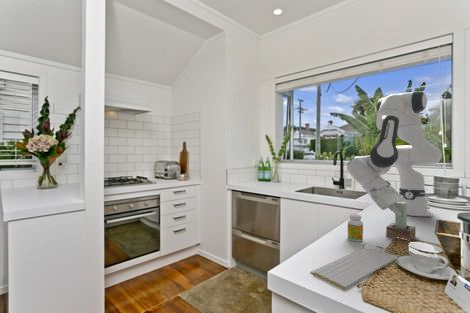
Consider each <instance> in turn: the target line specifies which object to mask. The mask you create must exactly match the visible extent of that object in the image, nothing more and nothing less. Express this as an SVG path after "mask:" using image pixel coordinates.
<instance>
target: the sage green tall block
mask: <svg viewBox="0 0 470 313" xmlns="http://www.w3.org/2000/svg"><path fill="white" fill-rule="evenodd" d="M396 208H397V209H398V210H400V211H401V212H402V213H403V214H402V215H401V216H398V215H397V214H396V213H394V214H395V219H394V220H395V222H394V223H395V228H400V229H405V230H407V225H408V224H407V222H408V221H407V220H408V215H407V202H399V201H398V202H396Z"/></svg>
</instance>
